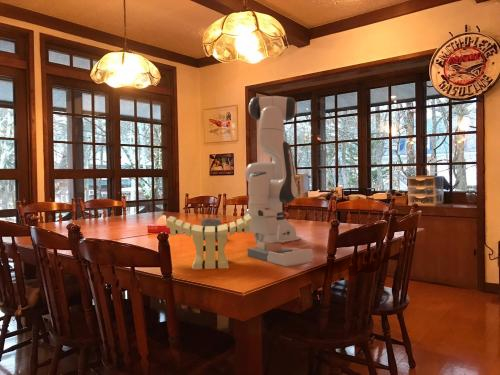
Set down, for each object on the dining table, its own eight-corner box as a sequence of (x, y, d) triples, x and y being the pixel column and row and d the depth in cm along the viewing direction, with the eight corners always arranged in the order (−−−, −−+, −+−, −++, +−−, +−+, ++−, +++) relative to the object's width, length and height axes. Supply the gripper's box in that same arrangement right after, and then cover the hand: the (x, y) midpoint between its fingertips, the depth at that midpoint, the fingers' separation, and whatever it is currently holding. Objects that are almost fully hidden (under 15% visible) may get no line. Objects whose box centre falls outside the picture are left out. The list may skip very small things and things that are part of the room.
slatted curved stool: (248, 258, 162) (248, 213, 161) (252, 267, 146) (251, 217, 145) (172, 260, 159) (171, 215, 159) (167, 270, 144) (166, 219, 143)
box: (293, 257, 162) (293, 244, 162) (312, 262, 153) (312, 248, 153) (267, 261, 155) (267, 248, 155) (285, 267, 146) (285, 253, 146)
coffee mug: (217, 240, 205) (217, 220, 205) (199, 240, 207) (198, 220, 207) (224, 236, 219) (224, 217, 218) (206, 235, 220) (206, 217, 220)
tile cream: (266, 246, 170) (266, 240, 170) (273, 248, 166) (273, 242, 166) (257, 247, 167) (257, 241, 167) (264, 249, 163) (264, 243, 163)
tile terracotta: (274, 248, 165) (274, 242, 165) (281, 250, 161) (281, 244, 161) (265, 249, 163) (265, 243, 163) (272, 251, 159) (272, 245, 159)
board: (273, 252, 173) (273, 245, 173) (292, 257, 162) (292, 249, 162) (247, 255, 166) (247, 248, 166) (266, 261, 155) (266, 253, 155)
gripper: (239, 209, 176) (239, 241, 177) (267, 213, 159) (267, 248, 160) (251, 208, 180) (251, 239, 180) (279, 212, 163) (280, 246, 163)
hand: (259, 243), depth 170 cm, fingers closed
